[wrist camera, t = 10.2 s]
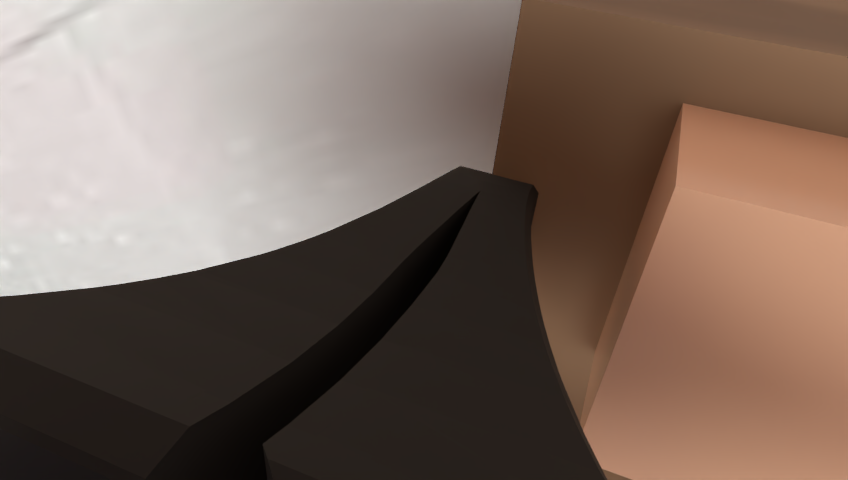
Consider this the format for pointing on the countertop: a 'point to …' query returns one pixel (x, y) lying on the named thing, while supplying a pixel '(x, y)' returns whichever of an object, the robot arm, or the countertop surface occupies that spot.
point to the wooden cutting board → (642, 125)
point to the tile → (731, 312)
